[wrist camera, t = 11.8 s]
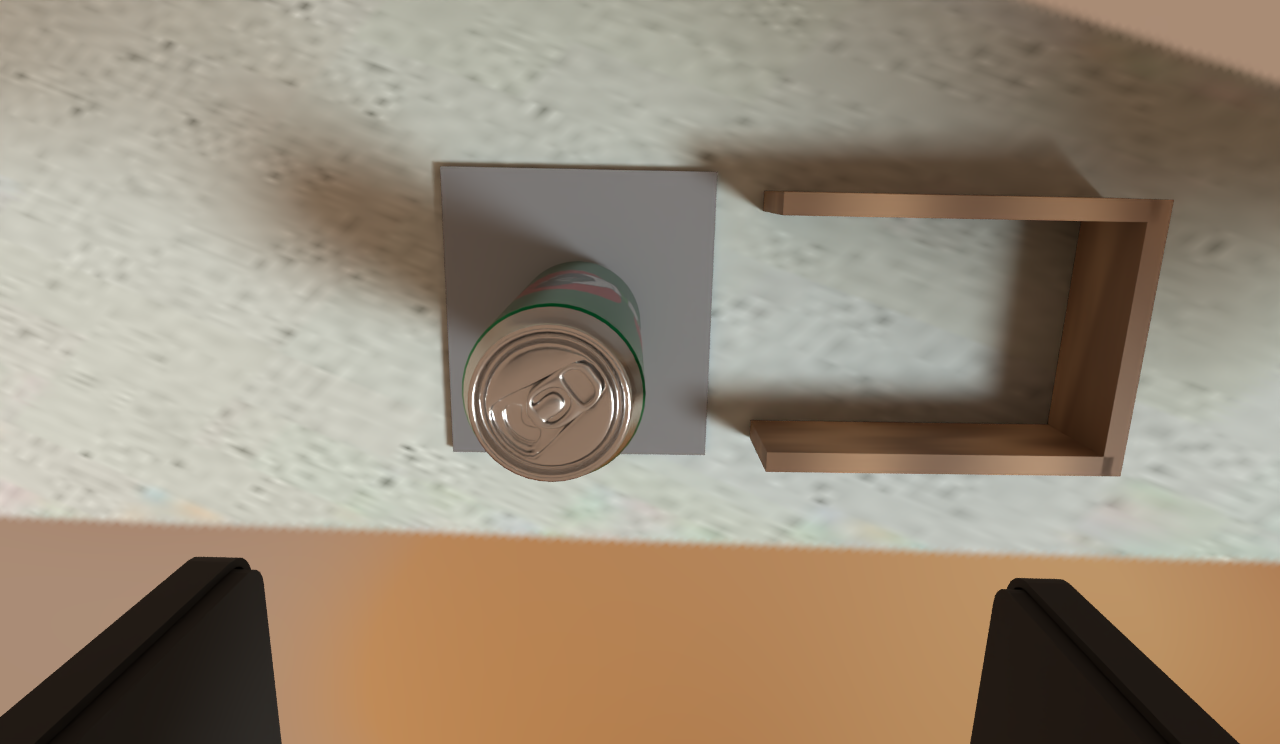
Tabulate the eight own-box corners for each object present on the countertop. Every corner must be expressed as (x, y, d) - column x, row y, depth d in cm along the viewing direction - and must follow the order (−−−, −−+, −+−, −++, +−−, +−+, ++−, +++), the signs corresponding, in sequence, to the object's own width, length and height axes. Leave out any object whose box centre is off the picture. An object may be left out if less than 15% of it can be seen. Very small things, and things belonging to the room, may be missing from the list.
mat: (716, 172, 30) (717, 171, 29) (703, 451, 33) (704, 454, 32) (442, 166, 30) (440, 166, 29) (455, 448, 33) (453, 451, 32)
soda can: (494, 307, 31) (411, 385, 19) (591, 234, 30) (567, 270, 18) (568, 401, 32) (533, 529, 20) (664, 333, 31) (684, 426, 19)
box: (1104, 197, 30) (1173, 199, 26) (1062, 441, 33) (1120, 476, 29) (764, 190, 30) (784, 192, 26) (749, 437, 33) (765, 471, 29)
